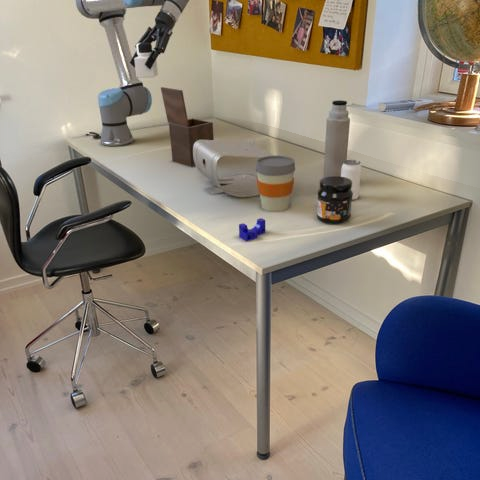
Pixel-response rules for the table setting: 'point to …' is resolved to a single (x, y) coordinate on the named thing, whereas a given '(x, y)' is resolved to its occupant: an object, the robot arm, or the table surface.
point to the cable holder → (252, 230)
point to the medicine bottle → (144, 61)
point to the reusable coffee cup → (275, 181)
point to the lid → (175, 106)
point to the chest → (188, 139)
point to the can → (352, 175)
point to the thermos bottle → (336, 139)
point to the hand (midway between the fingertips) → (139, 65)
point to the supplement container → (334, 200)
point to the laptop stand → (218, 149)
